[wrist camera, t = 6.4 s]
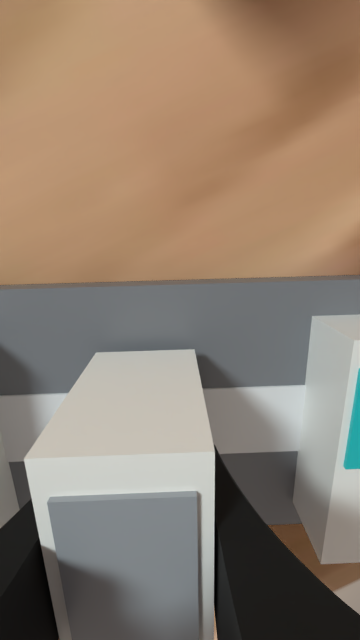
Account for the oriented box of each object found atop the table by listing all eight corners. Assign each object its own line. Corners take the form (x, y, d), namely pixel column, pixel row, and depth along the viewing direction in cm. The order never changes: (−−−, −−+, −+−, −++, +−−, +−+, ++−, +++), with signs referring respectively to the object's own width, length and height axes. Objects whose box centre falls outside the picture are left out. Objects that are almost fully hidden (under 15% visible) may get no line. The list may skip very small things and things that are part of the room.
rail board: (-37, 517, 16) (-107, 612, 12) (-105, 288, 13) (-238, 313, 9) (351, 501, 17) (410, 589, 13) (391, 274, 13) (492, 292, 9)
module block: (111, 492, 14) (64, 683, 8) (95, 352, 12) (20, 463, 6) (196, 488, 14) (214, 675, 8) (194, 349, 12) (215, 456, 6)
